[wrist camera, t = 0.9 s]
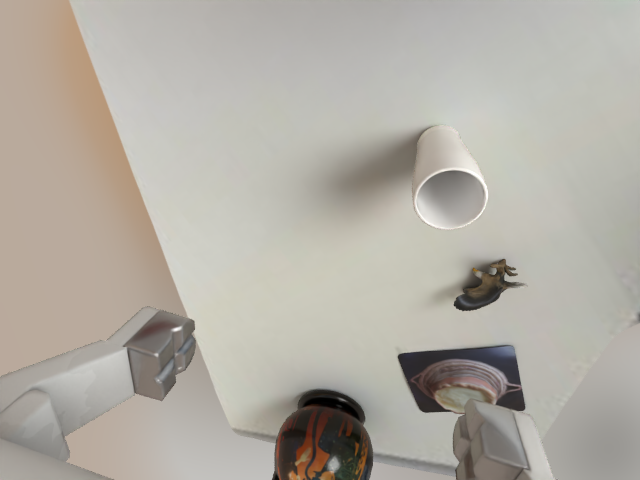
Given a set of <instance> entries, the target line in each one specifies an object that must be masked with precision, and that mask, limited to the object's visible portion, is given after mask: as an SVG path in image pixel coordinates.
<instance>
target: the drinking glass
mask: <svg viewBox="0 0 640 480" xmlns="http://www.w3.org/2000/svg"><path fill="white" fill-rule="evenodd" d="M412 197H413V205H414V209H415V212H416V214H417V215H418V217H419V218H420V219H421V220H422V221H423V222H424V223H426V224H427V225H429V226H431V227H434V228H437V229H444V230H450V229H457V228H461V227H464V226H466V225H468V224H470V223H472V222H473V221H474V220H476V219H477V218H478V217H479V216H480V215H481V213H482V212H483V211H484V209H485V207H486V204H487V200H488V190H487V187H486V183H485V180H484V177H483V174H482V171H481V169H480V167H479V165H478V164H477V162H476V160H475V159H474V157H473V156H472V154H471V153H470V152H469V150H468V149H467V147H466V146H465V144H464V143H463V141H462V140H461V137H460V135H459V133H458V132H457V131H456V130H455V129H454V128H452V127H450V126H446V125H437V126H433V127H431V128H429V129H427V130H426V131H425V132H424V133H423V134H422V135H421V137H420V138H419V141H418V144H417V156H416V161H415V167H414V172H413V179H412Z"/></svg>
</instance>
